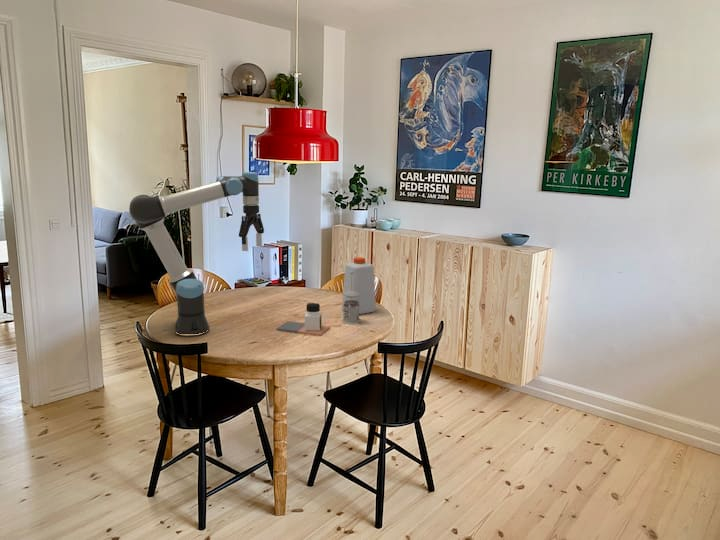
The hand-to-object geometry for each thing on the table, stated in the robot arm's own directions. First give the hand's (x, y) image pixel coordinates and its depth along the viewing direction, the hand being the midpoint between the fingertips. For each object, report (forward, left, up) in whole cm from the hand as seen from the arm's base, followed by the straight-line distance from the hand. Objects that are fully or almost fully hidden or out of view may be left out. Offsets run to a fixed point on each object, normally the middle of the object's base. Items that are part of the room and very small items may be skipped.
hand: (252, 248), depth 265 cm
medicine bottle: (-9, -36, -34) cm, 50 cm away
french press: (+12, -47, -35) cm, 60 cm away
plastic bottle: (+30, -45, -35) cm, 64 cm away
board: (-9, -31, -35) cm, 47 cm away
